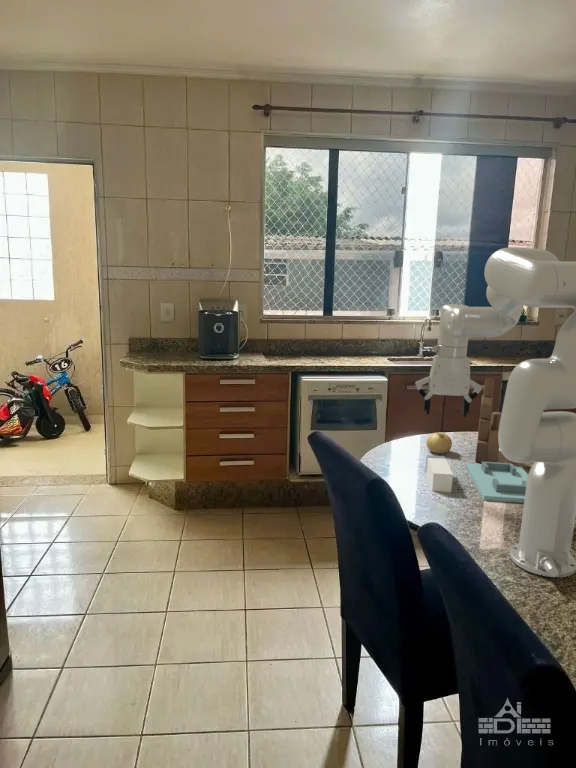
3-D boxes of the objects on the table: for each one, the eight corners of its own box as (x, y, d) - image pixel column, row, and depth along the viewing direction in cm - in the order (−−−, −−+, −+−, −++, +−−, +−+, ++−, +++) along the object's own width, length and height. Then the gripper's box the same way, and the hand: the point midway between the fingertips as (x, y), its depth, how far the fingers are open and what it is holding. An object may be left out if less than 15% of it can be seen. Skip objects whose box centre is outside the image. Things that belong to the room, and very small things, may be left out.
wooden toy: (498, 465, 171) (507, 384, 166) (475, 462, 173) (483, 382, 168) (498, 450, 185) (506, 375, 180) (476, 447, 188) (484, 373, 182)
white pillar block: (451, 492, 150) (453, 474, 149) (431, 490, 150) (433, 472, 149) (443, 473, 164) (444, 456, 162) (425, 471, 164) (426, 455, 163)
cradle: (548, 504, 144) (550, 492, 143) (483, 500, 145) (485, 488, 145) (520, 470, 167) (522, 460, 166) (465, 467, 169) (466, 457, 168)
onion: (420, 449, 183) (422, 429, 182) (439, 446, 187) (440, 426, 186) (437, 457, 177) (439, 435, 175) (456, 454, 180) (458, 432, 179)
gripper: (419, 352, 146) (414, 416, 150) (488, 356, 144) (481, 420, 148) (416, 347, 153) (411, 408, 157) (482, 351, 151) (475, 412, 155)
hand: (445, 414), depth 153 cm, fingers open, 9 cm apart
